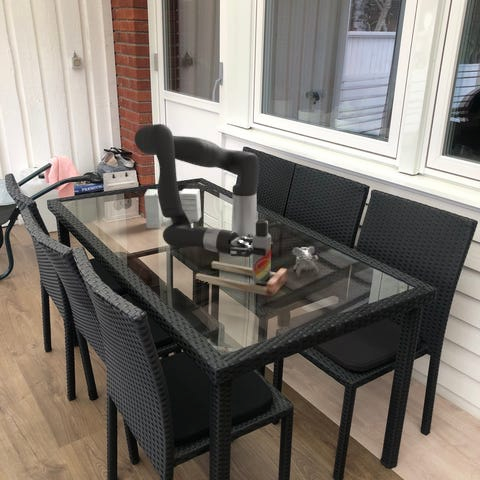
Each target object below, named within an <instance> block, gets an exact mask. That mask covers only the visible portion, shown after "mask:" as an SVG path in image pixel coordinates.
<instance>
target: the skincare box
mask: <svg viewBox="0 0 480 480" xmlns="http://www.w3.org/2000/svg"><path fill="white" fill-rule="evenodd" d="M143 196H144V210H145V222H146V223H145V224H146V225H145V226H146V228H147V229H161V227H162V225H163V222H164V219H163V218H164V216H163V214H162V211H161V207H160V203H159V199H158V188H157V189H156V188H155V189H153V188H152V189H149V188H148V189H147V190H146V192H145V193H144V195H143Z"/></svg>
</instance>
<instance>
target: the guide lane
mask: <svg viewBox="0 0 480 480" xmlns="http://www.w3.org/2000/svg"><path fill="white" fill-rule="evenodd" d="M211 269H214V270H215V269H216V270H221V271H226V272H230V273H235V274H240V275H241V274H242V275H246V276H251V277H253V267H249V266H242V265H237V264H233V263H232V264H231V263H226V262H223V261H221V262H220V261H215V260H213V261H212V262H211ZM196 279H199V280H201V281H204V282H203V283H205V282H208V283H207V284H210V283H211V285H216V286H219V287H224V288H225V287H226V288H229V289H234V290H239V291H243V292H248V293H252V294H258V295H263V296H268V297H274V295H276V293H277V292H278V291H279V290H280V289H281V288H282V287H283V285H284V284H285V283H286V282H287V281H288V268H284V267H283V268H282V267H281V268H280V269H279V270H277V272H275V271H274V272H273V271H271V277H270V280H269V281H268V282H267V283H265V284H266V286H265V285H264V286H263V285H258V284H253V283H248V282H243V281H239V280H233V279H229V278H225V277H219V276H213V275H208V274H203V273H199V272H198V273H196V274H195V280H196Z"/></svg>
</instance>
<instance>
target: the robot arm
mask: <svg viewBox="0 0 480 480" xmlns="http://www.w3.org/2000/svg"><path fill="white" fill-rule="evenodd" d="M133 138H134V144H135V146H136V148H137V149H138V150H139V151H140V152H142V153H143V154H145V155H148V156H149V155H151V156H156V158H157V161H158V166H159V177H158V182H157V189H158V199H159V203H160V207H161V211H162V214H163V218H166V219H170V220H171V222H172V223H171V224H169V225H168V226H166V227H165V229H164V230H163V232H162V238H163V241H164V242H165V243H166V244H167V245H169V246H170V247H174V248H198V249H203V250H208V251H211V252H215V253H221V254H225V255H230V256H231V257H243V258H250V257H251V256H252V255H254V254H255V255H260V256H266V249H264V248H256V247H255V248H254V247H253V246H252V238H253V235H254V234H255V233H256V221H258V210H257V207H258V206H257V204H258V203H257V189H258V186H259V176H260V175H259V172H260V169H259V168H260V164H259V159H258V156H257V155H256V154H255V153H253V152H249V151H243V150H236V149H235V150H234V149H228V148H223V147H220V146H219V145H217V144H216V143H215V142H212V141H210V140H207V139H203V138H201V137H193V136H183V135H181V136H180V135H174V134H173V133H172V131H171V128H170V127H169V126H167V125H165V124H164V123H163V124H162V123H157V124H149V125H144V126H141V127H140V128H139V129H137V131H136V132H135V134H134V137H133ZM177 160H178V161H180V162H183V163H186V164H191V165H194V166H198V167H203V168H209V169H210V168H218V169H221V170H223V171H225V172H228V173H231V174H232V175H235V176H240V180H239V181H240V182H239V183H236V184H234V185H233V186H232V191H231V192H232V210H233V211H232V215H233V218H232V219H233V230H229V229H223V228H217V227H216V228H215V227H205V226H201V225H198V226H193V227H192V224H191V222H189V220H188V218H187V216H186V213H185V212H184V210H183V208H182V203H181V199H180V191H179V190H180V189H179V185H178V178H177V168H176V167H177V166H176V165H177V163H176V161H177ZM273 249H274V242H272V241H271V251H272V250H273Z"/></svg>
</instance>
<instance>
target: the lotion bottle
mask: <svg viewBox="0 0 480 480" xmlns="http://www.w3.org/2000/svg"><path fill="white" fill-rule="evenodd" d="M271 242H272V235H271V234H270V233H269V221H268V220H267V219H257V221H256V233H255V234H254V235H253V238H252V243H251V246H253V247H254V248H255V247H256V248H264V249H266V256H260V255H255V254H254V255H251V256H252V268H253V276H252V281H253V282H254V283H256V284H266V283H267V282H268V281H269V280H270V277H271V272H272V271H271V268H272V267H271V264H272V260H271V258H272V257H271V256H272V250H271Z"/></svg>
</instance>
